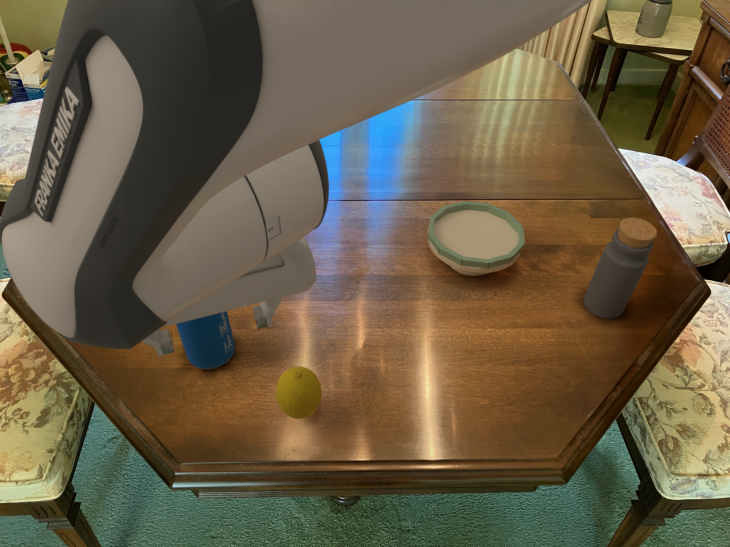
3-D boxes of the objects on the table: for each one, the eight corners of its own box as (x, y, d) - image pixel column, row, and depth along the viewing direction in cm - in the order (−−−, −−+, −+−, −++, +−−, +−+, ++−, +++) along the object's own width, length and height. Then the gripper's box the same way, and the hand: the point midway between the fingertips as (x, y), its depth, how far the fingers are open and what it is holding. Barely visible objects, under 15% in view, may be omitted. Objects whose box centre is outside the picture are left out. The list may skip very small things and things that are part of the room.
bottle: (597, 285, 86) (630, 209, 76) (630, 307, 83) (670, 230, 73) (575, 302, 84) (606, 225, 73) (609, 325, 80) (646, 248, 70)
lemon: (328, 398, 71) (326, 360, 65) (314, 435, 67) (310, 398, 61) (288, 388, 72) (283, 349, 66) (272, 424, 68) (264, 387, 62)
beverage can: (221, 378, 73) (204, 317, 65) (178, 364, 74) (156, 304, 66) (244, 342, 77) (231, 281, 69) (203, 330, 79) (186, 269, 70)
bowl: (535, 278, 87) (544, 248, 83) (450, 301, 83) (455, 272, 79) (487, 222, 97) (493, 193, 93) (410, 241, 94) (413, 212, 89)
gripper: (42, 282, 39) (103, 393, 49) (318, 222, 44) (324, 332, 54) (45, 229, 43) (101, 341, 53) (297, 179, 49) (306, 289, 58)
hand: (216, 336), depth 53 cm, fingers open, 8 cm apart
